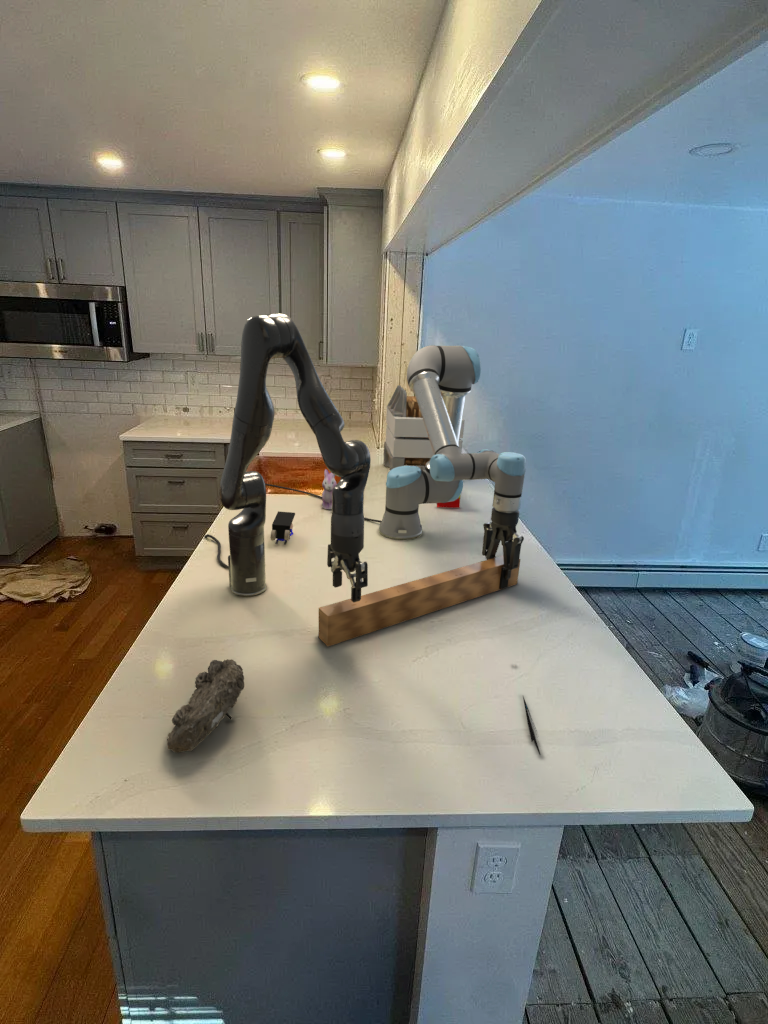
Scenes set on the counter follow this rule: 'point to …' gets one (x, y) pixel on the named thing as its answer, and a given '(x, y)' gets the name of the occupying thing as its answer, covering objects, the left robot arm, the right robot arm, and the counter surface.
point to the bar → (410, 600)
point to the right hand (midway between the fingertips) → (496, 584)
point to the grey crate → (407, 433)
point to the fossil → (206, 705)
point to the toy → (450, 504)
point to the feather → (530, 725)
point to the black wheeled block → (282, 527)
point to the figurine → (328, 489)
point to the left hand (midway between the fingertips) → (346, 593)
